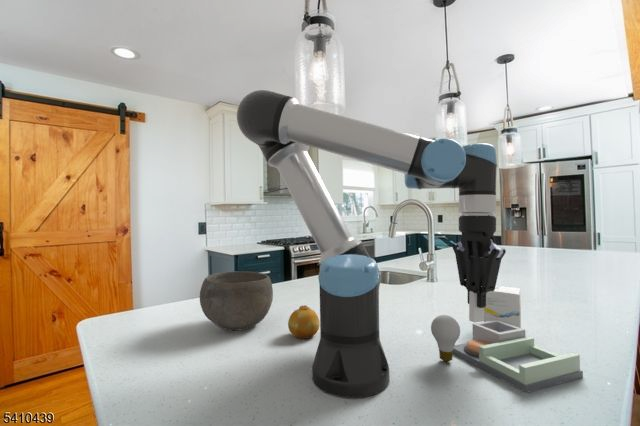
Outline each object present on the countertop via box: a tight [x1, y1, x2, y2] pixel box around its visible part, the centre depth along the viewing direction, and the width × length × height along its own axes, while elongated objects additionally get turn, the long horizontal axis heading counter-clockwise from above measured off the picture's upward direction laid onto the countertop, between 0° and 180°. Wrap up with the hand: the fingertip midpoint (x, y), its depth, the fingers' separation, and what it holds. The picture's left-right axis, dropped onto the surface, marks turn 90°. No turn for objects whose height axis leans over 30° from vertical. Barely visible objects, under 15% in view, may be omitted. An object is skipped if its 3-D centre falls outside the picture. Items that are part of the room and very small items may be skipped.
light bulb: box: [430, 314, 461, 363], centre depth 70 cm, size 6×6×10 cm
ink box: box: [483, 285, 522, 328], centre depth 87 cm, size 9×8×12 cm
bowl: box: [199, 270, 274, 331], centre depth 96 cm, size 21×21×15 cm
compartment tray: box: [453, 320, 584, 393], centre depth 69 cm, size 15×19×6 cm
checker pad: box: [466, 339, 491, 354], centre depth 72 cm, size 5×5×1 cm
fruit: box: [287, 305, 320, 339], centre depth 87 cm, size 8×8×8 cm
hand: (476, 320), depth 72 cm, fingers closed
